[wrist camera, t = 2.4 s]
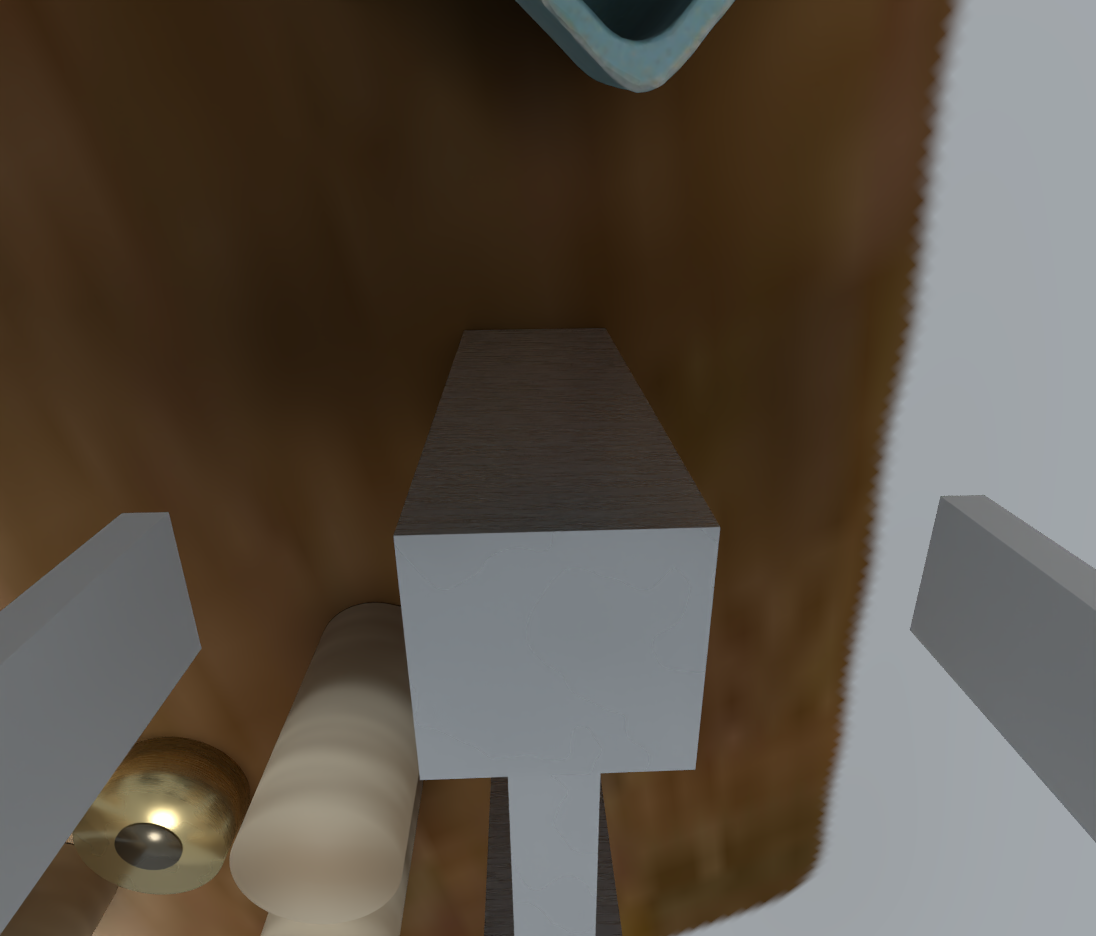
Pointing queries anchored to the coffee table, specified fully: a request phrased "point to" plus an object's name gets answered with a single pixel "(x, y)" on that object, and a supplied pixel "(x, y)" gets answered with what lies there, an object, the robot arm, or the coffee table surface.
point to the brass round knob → (164, 817)
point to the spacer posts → (306, 803)
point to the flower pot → (628, 35)
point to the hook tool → (552, 609)
